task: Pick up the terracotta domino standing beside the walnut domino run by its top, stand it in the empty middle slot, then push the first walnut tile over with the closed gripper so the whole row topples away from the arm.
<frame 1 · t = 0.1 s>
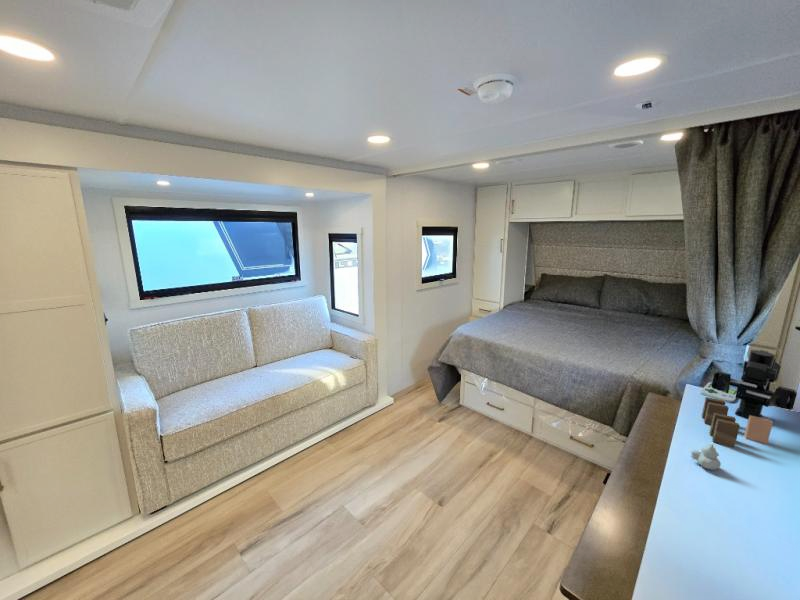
hand: (747, 397, 103), 17 cm above the table, tool horizontal, fingers open, 9 cm apart
handheld gaming console: (719, 394, 138), on the table
domino 2: (713, 424, 117), on the table
grey lumpy figure: (703, 466, 97), on the table
domino 4: (719, 437, 110), on the table
domino 5: (723, 443, 107), on the table
domino 3: (755, 440, 108), on the table
domino 1: (711, 419, 120), on the table
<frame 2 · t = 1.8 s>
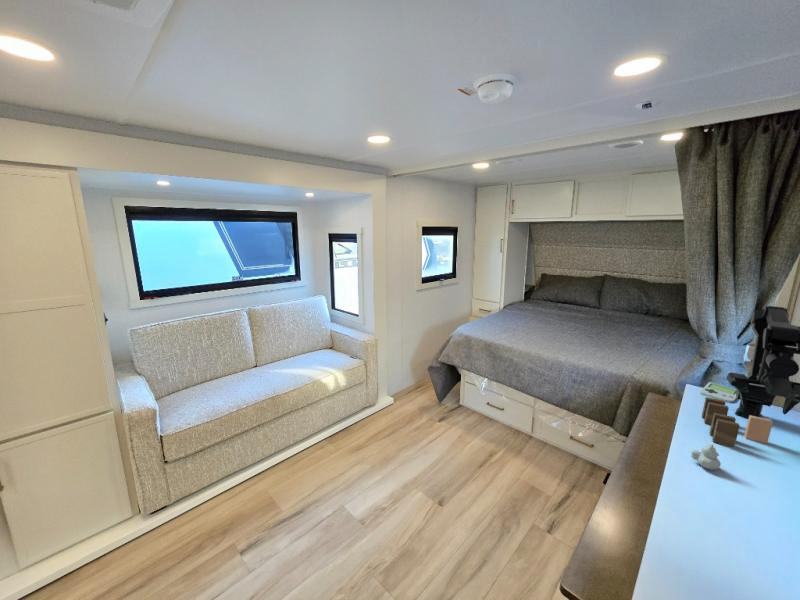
hand: (763, 409, 106), 11 cm above the table, tool pointing down, fingers open, 9 cm apart
nothing on the table moved.
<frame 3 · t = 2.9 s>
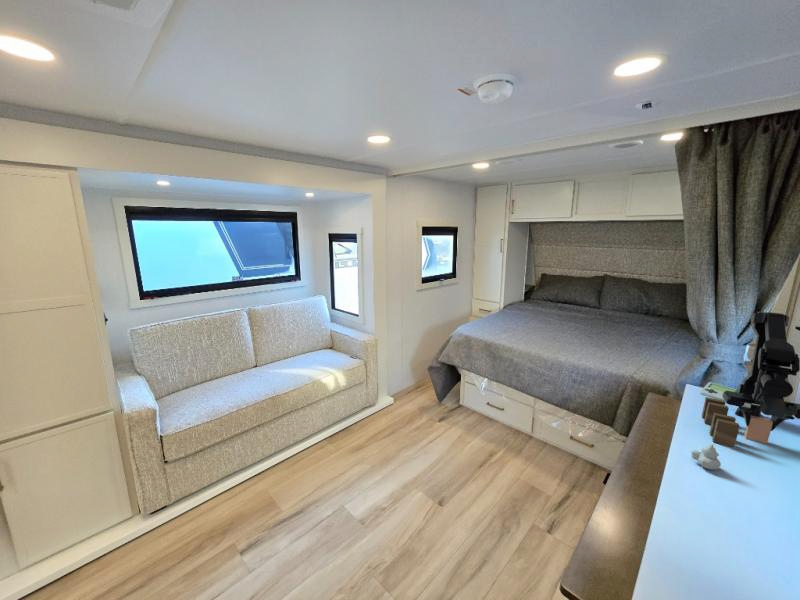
hand: (758, 427, 107), 5 cm above the table, tool pointing down, fingers closed on domino 3, 5 cm apart
domino 3: (755, 439, 108), on the table, touching gripper
everything else where it was.
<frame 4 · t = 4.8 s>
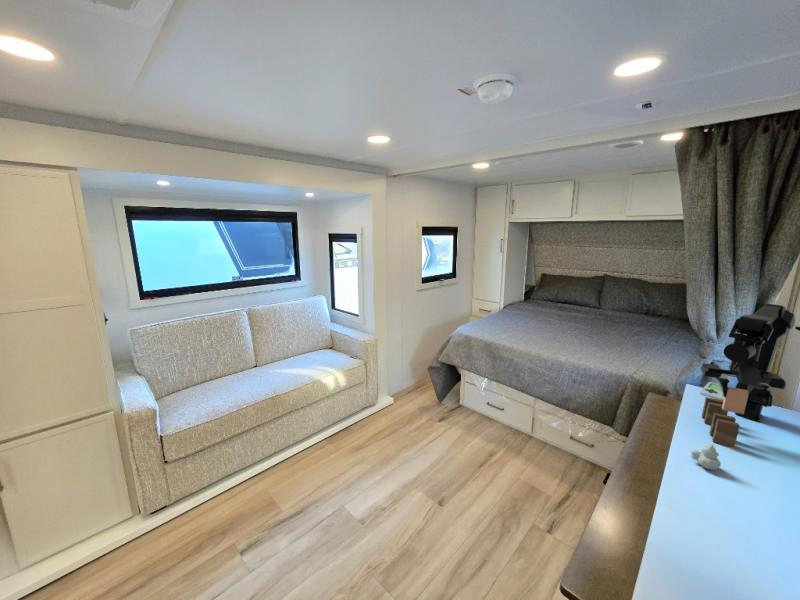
hand: (735, 398, 109), 13 cm above the table, tool pointing down, fingers closed on domino 3, 5 cm apart
domino 3: (732, 411, 110), point 9 cm above the table, touching gripper
everything else where it was.
when the fingers open (6 cm above the table, at t = 6.8 s): domino 3 stays where it is, on the table.
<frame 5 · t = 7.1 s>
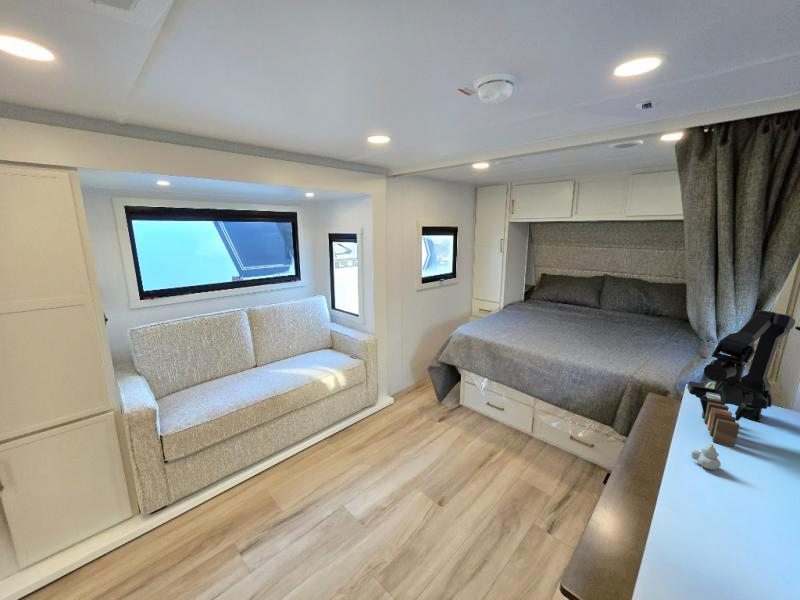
hand: (720, 416, 112), 6 cm above the table, tool pointing down, fingers open, 8 cm apart
domino 3: (716, 430, 113), on the table
everything else where it was.
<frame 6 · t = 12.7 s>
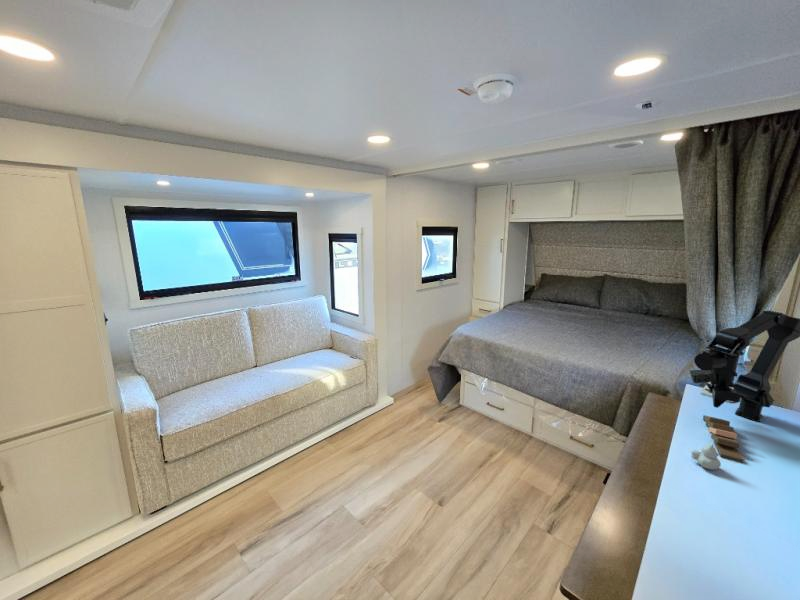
hand: (715, 406, 117), 6 cm above the table, tool pointing down, fingers closed
domino 2: (715, 425, 115), point 1 cm above the table, tilted 66°, touching domino 3
domino 4: (721, 437, 109), point 1 cm above the table, tilted 72°, touching domino 3
domino 5: (724, 444, 106), on the table, tilted 90°
domino 3: (718, 431, 112), point 1 cm above the table, tilted 66°, touching domino 2, domino 4
domino 1: (712, 419, 119), point 1 cm above the table, tilted 66°
everything else where it was.
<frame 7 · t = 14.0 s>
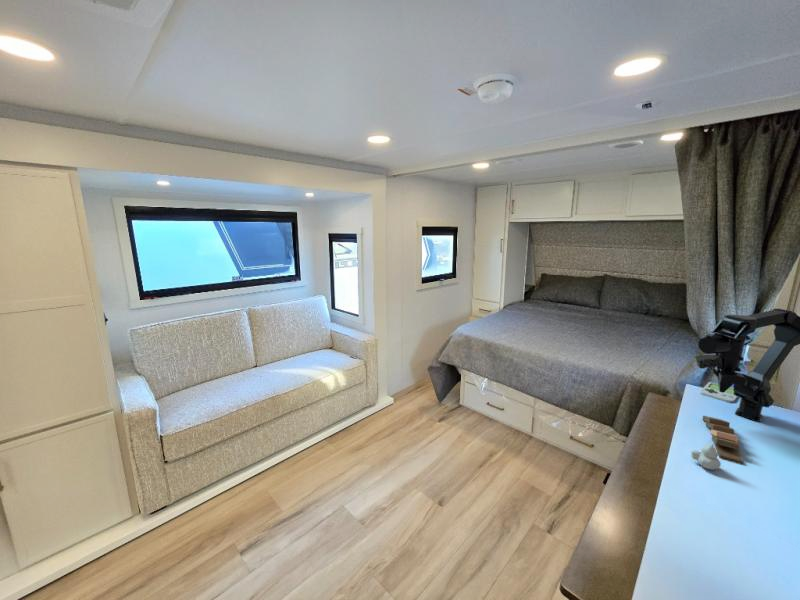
hand: (721, 391, 118), 11 cm above the table, tool pointing down, fingers closed
domino 2: (715, 425, 115), point 1 cm above the table, tilted 68°, touching domino 1, domino 3
domino 4: (722, 439, 107), point 1 cm above the table, tilted 70°, touching domino 3
domino 3: (720, 433, 111), point 1 cm above the table, tilted 67°, touching domino 2, domino 4
domino 1: (712, 419, 118), point 1 cm above the table, tilted 68°, touching domino 2
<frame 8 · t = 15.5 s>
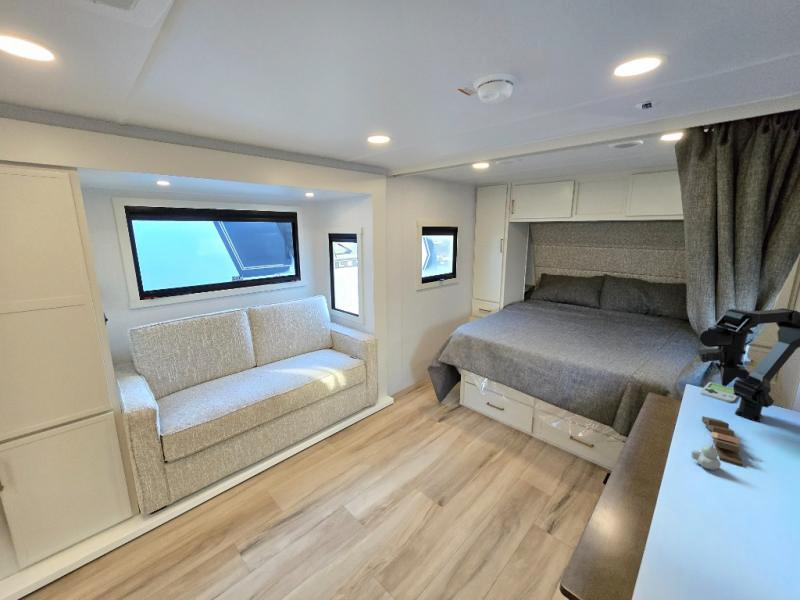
hand: (723, 385, 118), 13 cm above the table, tool pointing down, fingers closed
domino 4: (723, 442, 106), point 1 cm above the table, tilted 70°, touching domino 3
domino 5: (725, 448, 104), on the table, tilted 90°
domino 3: (721, 436, 109), point 1 cm above the table, tilted 64°, touching domino 2, domino 4
at the end: domino 5 tilted 90°; domino 3 tilted 64°; the gripper is holding nothing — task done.
